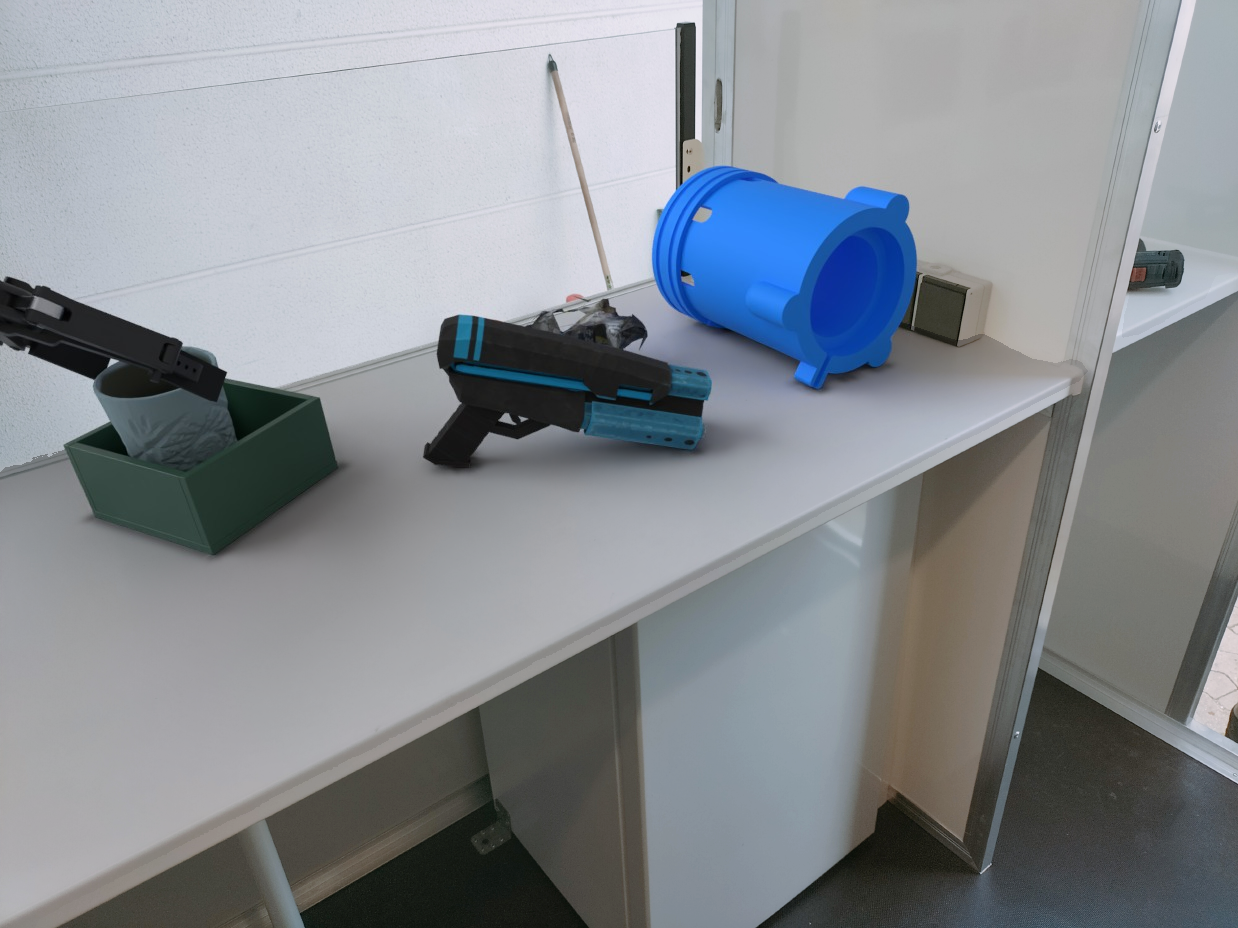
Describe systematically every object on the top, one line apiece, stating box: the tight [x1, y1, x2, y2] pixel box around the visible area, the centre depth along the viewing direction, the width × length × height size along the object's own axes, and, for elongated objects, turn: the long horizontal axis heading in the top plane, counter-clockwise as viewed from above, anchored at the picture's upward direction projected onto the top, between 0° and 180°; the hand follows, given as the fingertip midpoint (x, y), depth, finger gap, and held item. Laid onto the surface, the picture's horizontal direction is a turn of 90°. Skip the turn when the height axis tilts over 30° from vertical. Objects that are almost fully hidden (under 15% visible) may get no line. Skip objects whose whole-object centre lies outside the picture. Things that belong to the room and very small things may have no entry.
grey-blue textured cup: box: [92, 345, 238, 472], centre depth 78 cm, size 10×10×12 cm
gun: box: [422, 314, 713, 468], centre depth 83 cm, size 8×26×15 cm, turn 97°
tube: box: [651, 165, 918, 390], centre depth 100 cm, size 25×22×19 cm
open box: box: [62, 377, 339, 556], centre depth 80 cm, size 16×16×8 cm
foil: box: [524, 295, 649, 351], centre depth 99 cm, size 12×11×15 cm
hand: (160, 376), depth 74 cm, fingers open, 13 cm apart
